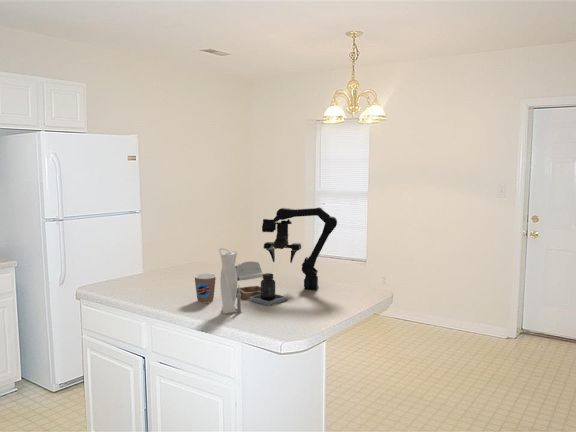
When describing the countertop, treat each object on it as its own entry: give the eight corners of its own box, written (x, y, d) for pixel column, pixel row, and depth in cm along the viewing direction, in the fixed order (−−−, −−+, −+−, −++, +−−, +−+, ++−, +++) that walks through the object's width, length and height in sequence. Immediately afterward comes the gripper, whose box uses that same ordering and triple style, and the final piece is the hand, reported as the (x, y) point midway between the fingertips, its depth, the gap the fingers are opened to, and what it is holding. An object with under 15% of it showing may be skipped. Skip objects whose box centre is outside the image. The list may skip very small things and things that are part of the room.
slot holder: (258, 291, 255) (258, 285, 255) (267, 296, 245) (267, 290, 244) (235, 293, 250) (235, 287, 250) (244, 299, 239) (244, 293, 239)
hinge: (239, 280, 280) (236, 262, 282) (235, 281, 284) (231, 264, 285) (264, 276, 290) (261, 259, 292) (260, 277, 294) (256, 260, 296)
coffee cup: (190, 303, 232) (190, 277, 231) (198, 297, 242) (198, 273, 241) (212, 304, 230) (212, 278, 229) (219, 298, 240) (219, 273, 239)
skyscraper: (222, 315, 214) (222, 250, 211) (217, 310, 221) (216, 247, 219) (241, 313, 217) (241, 248, 215) (236, 308, 225) (235, 246, 222)
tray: (267, 296, 245) (267, 292, 245) (286, 300, 238) (286, 296, 237) (249, 301, 236) (249, 297, 236) (269, 306, 228) (269, 301, 228)
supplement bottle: (258, 298, 239) (258, 273, 238) (272, 297, 241) (272, 272, 240) (263, 302, 233) (263, 276, 231) (277, 300, 235) (277, 275, 234)
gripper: (260, 233, 256) (260, 264, 257) (296, 235, 251) (296, 266, 253) (266, 231, 267) (266, 260, 268) (301, 232, 262) (301, 262, 263)
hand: (282, 262), depth 263 cm, fingers open, 9 cm apart
